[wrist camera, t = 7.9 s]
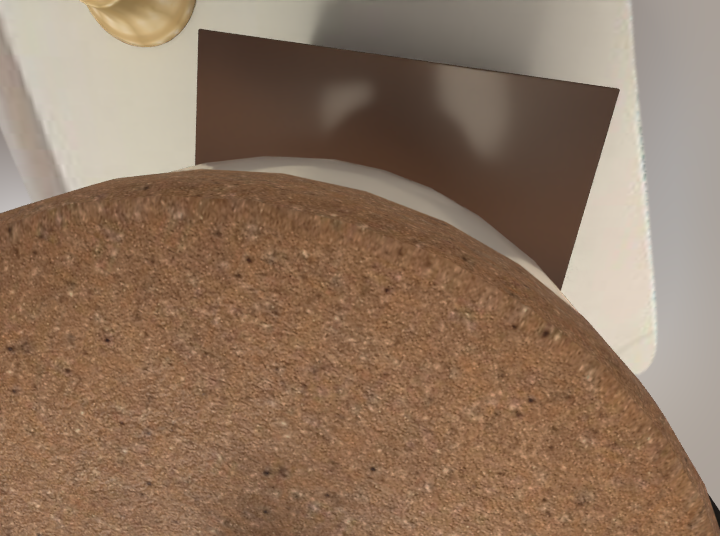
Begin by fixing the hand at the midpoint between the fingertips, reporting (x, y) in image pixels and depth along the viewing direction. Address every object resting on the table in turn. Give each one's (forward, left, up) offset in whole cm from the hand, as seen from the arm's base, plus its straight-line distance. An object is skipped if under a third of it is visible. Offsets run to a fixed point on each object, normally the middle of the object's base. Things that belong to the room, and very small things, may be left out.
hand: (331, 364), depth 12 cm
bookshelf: (+1, 0, -27) cm, 27 cm away
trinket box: (0, 0, -2) cm, 2 cm away
